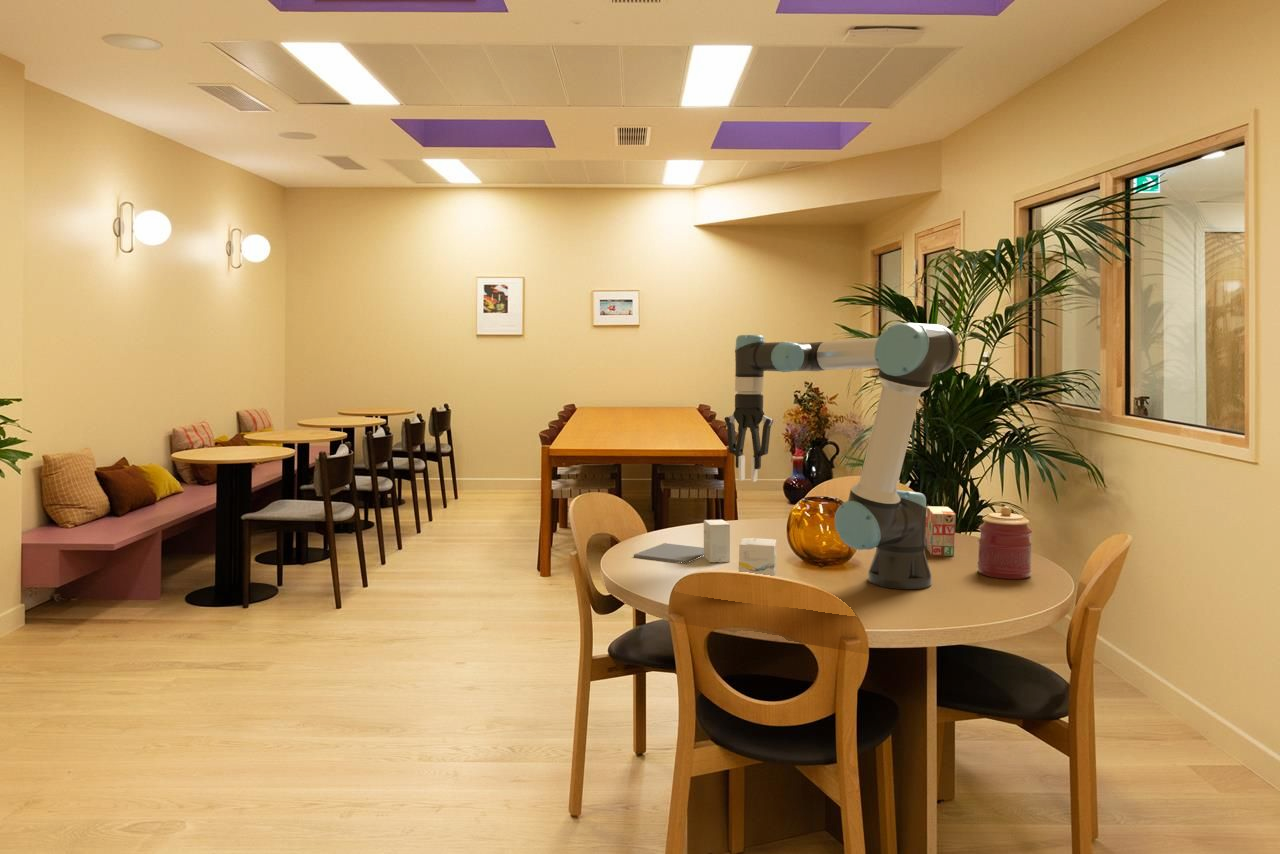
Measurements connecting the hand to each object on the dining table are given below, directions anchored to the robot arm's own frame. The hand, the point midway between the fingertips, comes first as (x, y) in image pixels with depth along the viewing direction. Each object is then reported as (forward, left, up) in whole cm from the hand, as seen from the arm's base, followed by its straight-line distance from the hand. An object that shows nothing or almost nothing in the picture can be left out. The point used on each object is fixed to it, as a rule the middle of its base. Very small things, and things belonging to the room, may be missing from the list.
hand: (747, 480), depth 251 cm
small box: (+9, 0, -23) cm, 25 cm away
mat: (+22, 0, -23) cm, 31 cm away
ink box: (-13, +24, -23) cm, 36 cm away
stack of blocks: (-40, -47, -23) cm, 66 cm away
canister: (-62, -23, -23) cm, 70 cm away
